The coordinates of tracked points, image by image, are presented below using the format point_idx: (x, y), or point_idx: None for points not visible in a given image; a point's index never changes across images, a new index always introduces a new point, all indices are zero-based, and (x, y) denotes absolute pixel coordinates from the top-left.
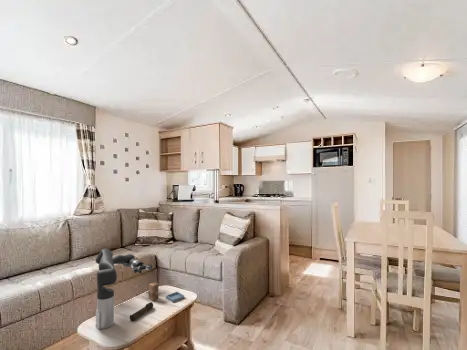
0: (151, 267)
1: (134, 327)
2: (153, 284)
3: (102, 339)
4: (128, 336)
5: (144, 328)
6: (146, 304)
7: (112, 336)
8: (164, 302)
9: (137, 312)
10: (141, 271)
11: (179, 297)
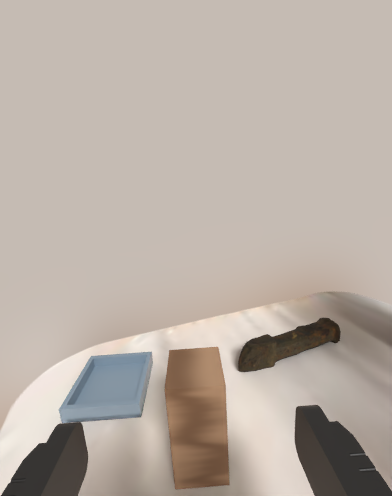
0: (49, 441)
1: (315, 314)
2: (199, 361)
3: None
4: (327, 299)
5: (287, 304)
6: (271, 341)
7: (374, 310)
8: None
9: (310, 324)
10: (298, 415)
11: (117, 354)
